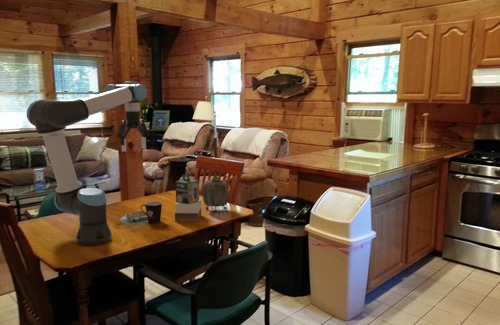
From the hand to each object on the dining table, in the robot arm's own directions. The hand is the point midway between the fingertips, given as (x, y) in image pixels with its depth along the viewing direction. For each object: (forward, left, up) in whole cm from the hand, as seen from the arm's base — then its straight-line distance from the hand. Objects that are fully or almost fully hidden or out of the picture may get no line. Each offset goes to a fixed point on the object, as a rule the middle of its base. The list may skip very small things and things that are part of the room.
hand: (134, 150), depth 211 cm
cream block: (-4, -30, -32) cm, 44 cm away
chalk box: (-4, -30, -27) cm, 41 cm away
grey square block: (-4, -30, -37) cm, 48 cm away
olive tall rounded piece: (+11, -43, -37) cm, 58 cm away
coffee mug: (-10, -12, -37) cm, 40 cm away
